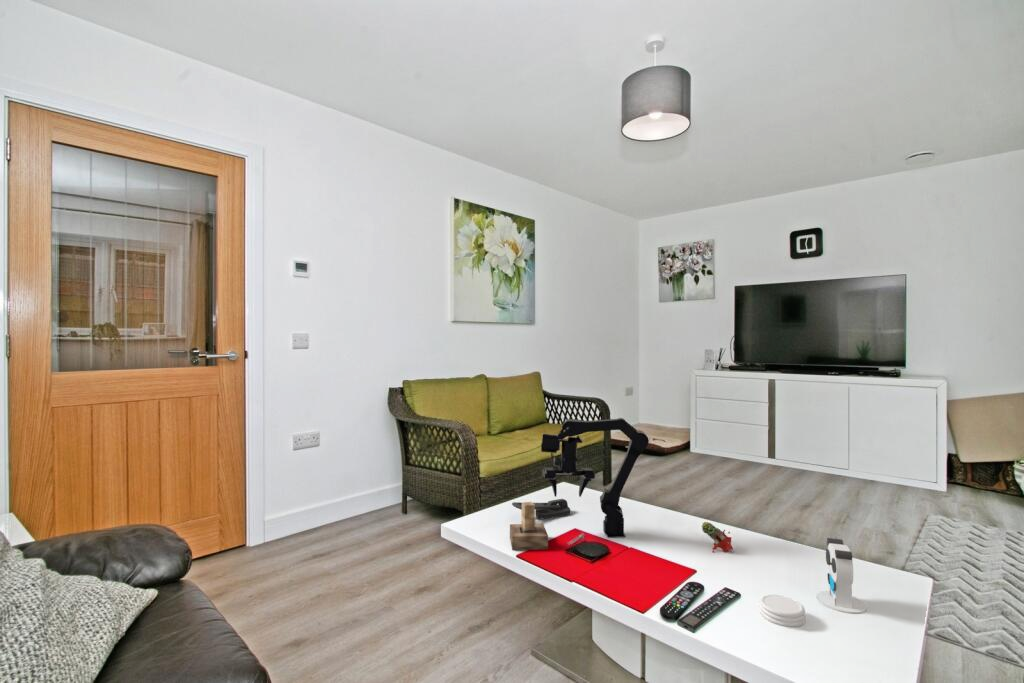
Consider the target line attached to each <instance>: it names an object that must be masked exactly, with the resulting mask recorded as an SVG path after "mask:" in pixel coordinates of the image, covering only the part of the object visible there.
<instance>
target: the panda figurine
mask: <svg viewBox="0 0 1024 683" xmlns="http://www.w3.org/2000/svg"><path fill="white" fill-rule="evenodd" d="M826 545H827V546H826V547H827V548H826V549H825V562H826V564H827V566H828V572H827V582H828V585H829V590H823V591H818V592H817V593H816V594H815V599H816V601H817V602H818V603H820V604H821V605H822V606H823V607H826V608H828V609H831V610H833V611H836V612H840V613H845V614H852V615H853V614H859V615H860V614H864V613H866V612H867V610H868V606H867V604H866V602H864V601H862V600H861V599H860V598H858V597H856V596H853V590H852V589H853V588H852V587H853V583H854V564H853V563H854V562H853V552H852V551H851V550H850V548H849V547H848V545H847V544H844V540H843V539H839V538H832V537H831V538H830V537H827V538H826Z"/></svg>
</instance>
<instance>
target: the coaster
mask: <svg viewBox="0 0 1024 683" xmlns="http://www.w3.org/2000/svg"><path fill="white" fill-rule="evenodd" d="M805 613H806V609H805V607H804V606H803V605H802V604H801V603H800V602H799V601H797V600H795V599H793V598H792V597H788V596H784V595H779V594H767V595H763V596H761V597H760V598H759V614H760V615H761V617H763V618H764V620H767V621H768V622H770V623H771V624H773V625H774V624H775V625H778V626H781V627H785V628H800V627H801V626H803V625H804V624H805V623H806V614H805Z"/></svg>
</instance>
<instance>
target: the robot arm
mask: <svg viewBox="0 0 1024 683" xmlns="http://www.w3.org/2000/svg"><path fill="white" fill-rule="evenodd" d="M605 431H606V432H607V431H621V432H622V434H624V435H625V436H626V437H627V438H628V439H629V442H628V445H627V447H628V448H627V452H626V454H625V455H624V458H623V460H622V462H621V464H620V467H619V468H618V471H617V473H616V475H615V477H614V479H613V482H612V484H611V486H610V487H609V488H606V487H603V491H602V494H601V495H600V496H599V500H600V501H599V502H600V509H601V512H602V513H603V514H604V519H603V521H602V523H603V524H602V525H603V527H602V528H603V533H604V534H605V535H606V537H607V538H626V534H625V517H624V513H623V509H622V507H621V506H620V498H621V493H622V491H623V489H624V486H625V485H626V483H627V480H628V479H629V476H630V475H631V472H632V470H633V468H634V466H635V463H636V461H637V460H638V458H639V457H640V456H641V455H642V454H643V452H644V451H645V450H646V448H647V447H648V446H649V442H650V440H649V437H648V436H647V434H646V433H645V431H642V430H638V429H637V428H635V427H634V426H633V425H631V424H630V423H629V422H628V421H627V420H625V419H624V418H623V417H619V418H611V419H597V420H596V419H595V420H583V419H576V418H575V419H574V418H568V419H565V420H564V421H563V424H562V426H561V430H560V431H558V433H557V434H550V433H549V434H548V433H542V440H541V443H540V444H541V445H540V451H541V453H550V454H557V452H558V451H559V452H560V450H561V454H560V458H559V456H554V457H553V459H552V461H553V462H552V463H553V464H552V465H553V467H551V466H550V467H548V466H547V467H546V466H545V467H543V468H542V472H541V474H542V476H543V478H544V479H546V480H547V481H549V483H550V485H551V488H552V491H553V495H554V497H555V498H556V497H557V494H558V492H557V490H558V489H557V479H556V476H578V477H579V489H578V497H580V498H581V497H582V495H583V493H584V490H585V489H586V487H587V485H588V484H589V482H591V481H592V480H593V479H595V478H596V472H595V470H593V469H592V468H591V467H581V468H580V470H579V469H577V465H578V464H577V463H578V444H582V443H583V439H582V438H581V437H580V435H582V434H585V433H590V432H592V433H593V432H594V433H595V432H605ZM554 467H557V468H558V469H555V468H554Z"/></svg>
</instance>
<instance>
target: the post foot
mask: <svg viewBox="0 0 1024 683" xmlns="http://www.w3.org/2000/svg"><path fill="white" fill-rule="evenodd" d="M521 527H522V523H515V524H509V541H510V545H511V550H512V551H524V550H525V551H527V550H529V551H531V550H549V535H548V532H547V529H546V528H545V525H544V523H535V533H521Z"/></svg>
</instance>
